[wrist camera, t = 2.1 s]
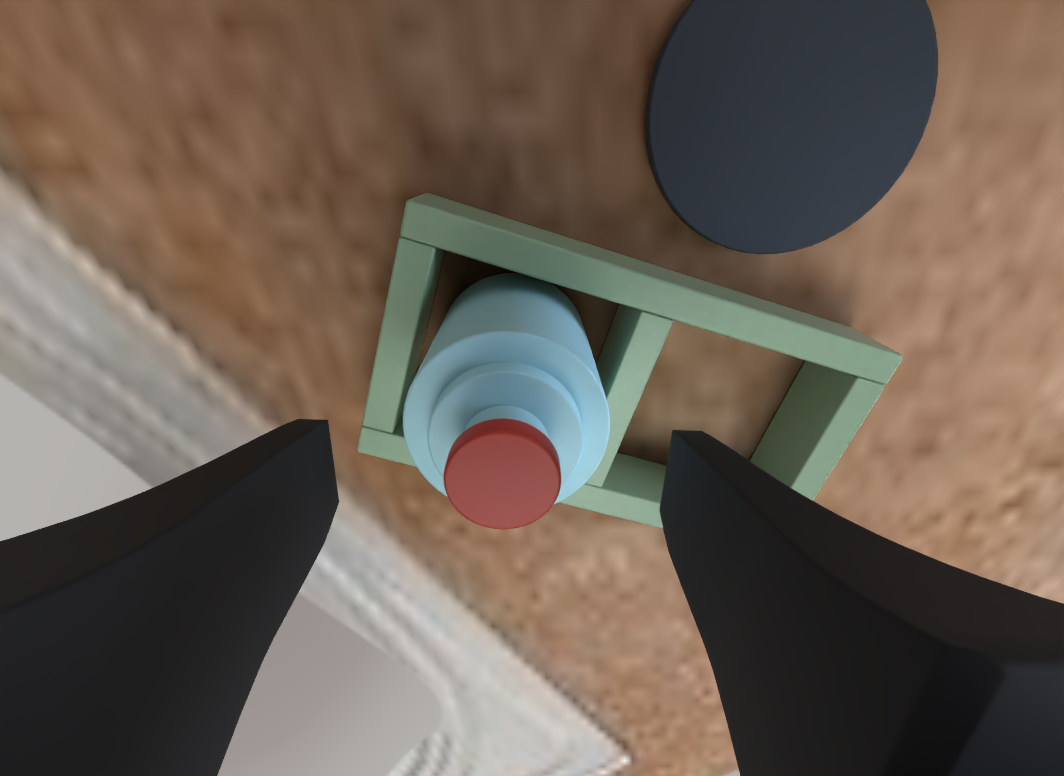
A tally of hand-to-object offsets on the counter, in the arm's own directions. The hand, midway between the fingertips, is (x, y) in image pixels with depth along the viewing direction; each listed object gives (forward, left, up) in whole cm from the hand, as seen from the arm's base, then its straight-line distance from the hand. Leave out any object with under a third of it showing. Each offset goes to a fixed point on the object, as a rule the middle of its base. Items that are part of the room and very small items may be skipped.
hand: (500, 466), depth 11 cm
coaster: (-6, -9, -8) cm, 13 cm away
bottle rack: (-4, 0, -8) cm, 9 cm away
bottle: (0, 0, -8) cm, 8 cm away
